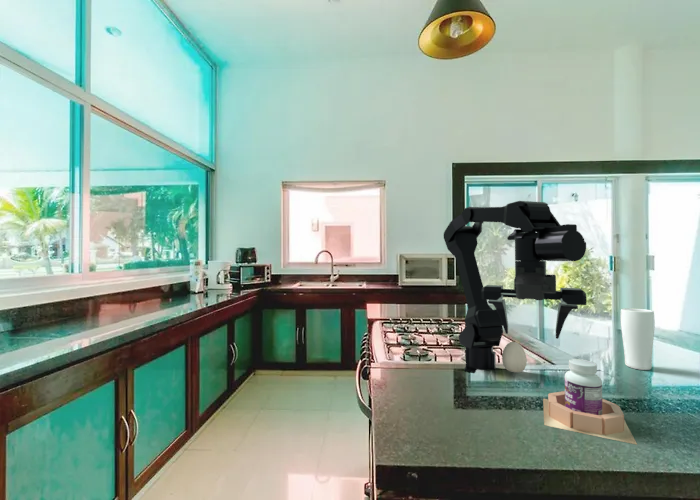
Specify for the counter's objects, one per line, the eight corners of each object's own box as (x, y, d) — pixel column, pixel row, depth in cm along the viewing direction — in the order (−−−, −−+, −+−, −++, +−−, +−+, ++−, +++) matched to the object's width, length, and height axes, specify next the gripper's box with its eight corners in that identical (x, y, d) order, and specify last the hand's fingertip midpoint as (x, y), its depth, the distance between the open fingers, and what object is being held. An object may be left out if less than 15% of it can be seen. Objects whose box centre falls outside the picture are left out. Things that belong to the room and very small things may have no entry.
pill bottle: (558, 411, 61) (557, 357, 61) (585, 410, 61) (584, 356, 61) (581, 426, 55) (580, 367, 55) (611, 424, 56) (609, 366, 56)
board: (544, 431, 56) (544, 424, 56) (543, 403, 66) (543, 398, 66) (637, 451, 50) (637, 444, 50) (620, 417, 60) (620, 412, 60)
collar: (549, 424, 56) (549, 408, 56) (547, 400, 65) (547, 387, 65) (629, 440, 51) (628, 423, 51) (615, 412, 60) (615, 398, 60)
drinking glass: (662, 372, 84) (661, 312, 84) (631, 370, 85) (630, 311, 85) (644, 364, 90) (643, 308, 91) (615, 362, 92) (614, 307, 92)
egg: (503, 376, 81) (502, 343, 82) (501, 369, 87) (500, 338, 87) (528, 379, 80) (528, 345, 80) (525, 371, 85) (524, 340, 85)
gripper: (477, 261, 68) (477, 338, 68) (589, 261, 59) (591, 351, 58) (484, 260, 78) (485, 328, 77) (582, 261, 69) (583, 337, 68)
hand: (531, 335), depth 70 cm, fingers open, 9 cm apart
